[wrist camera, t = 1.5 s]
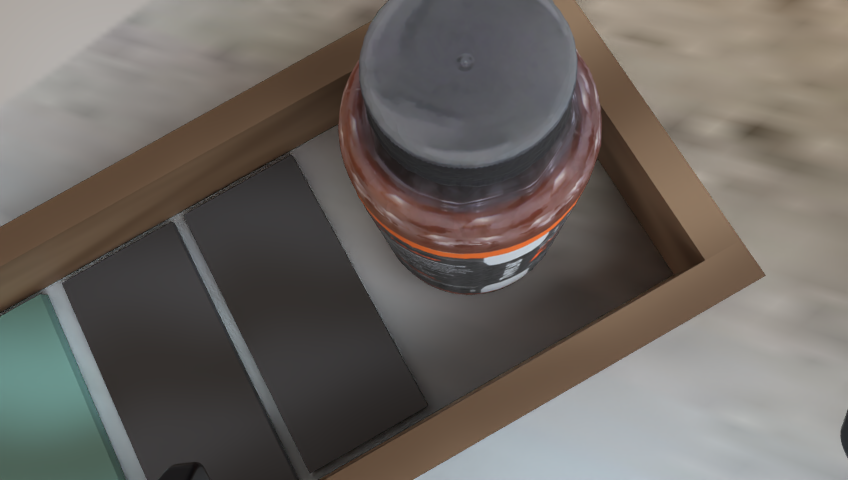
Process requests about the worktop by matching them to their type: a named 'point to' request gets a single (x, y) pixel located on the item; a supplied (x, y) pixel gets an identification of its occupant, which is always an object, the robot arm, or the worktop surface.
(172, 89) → the worktop surface
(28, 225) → the wooden serving tray
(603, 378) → the worktop surface
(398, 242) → the supplement bottle
